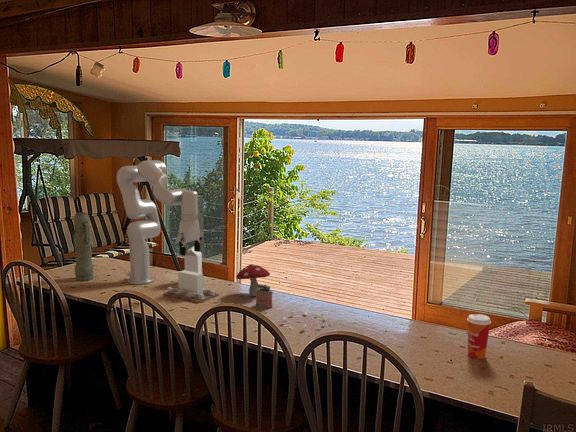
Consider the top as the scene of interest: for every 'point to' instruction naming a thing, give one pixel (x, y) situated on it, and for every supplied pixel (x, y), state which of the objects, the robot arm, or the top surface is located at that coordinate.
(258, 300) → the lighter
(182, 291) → the track board
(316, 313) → the game piece set
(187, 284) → the door panel
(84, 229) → the moai statue
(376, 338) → the top surface
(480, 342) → the paper cup
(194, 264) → the milk carton
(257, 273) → the decorative mushroom
